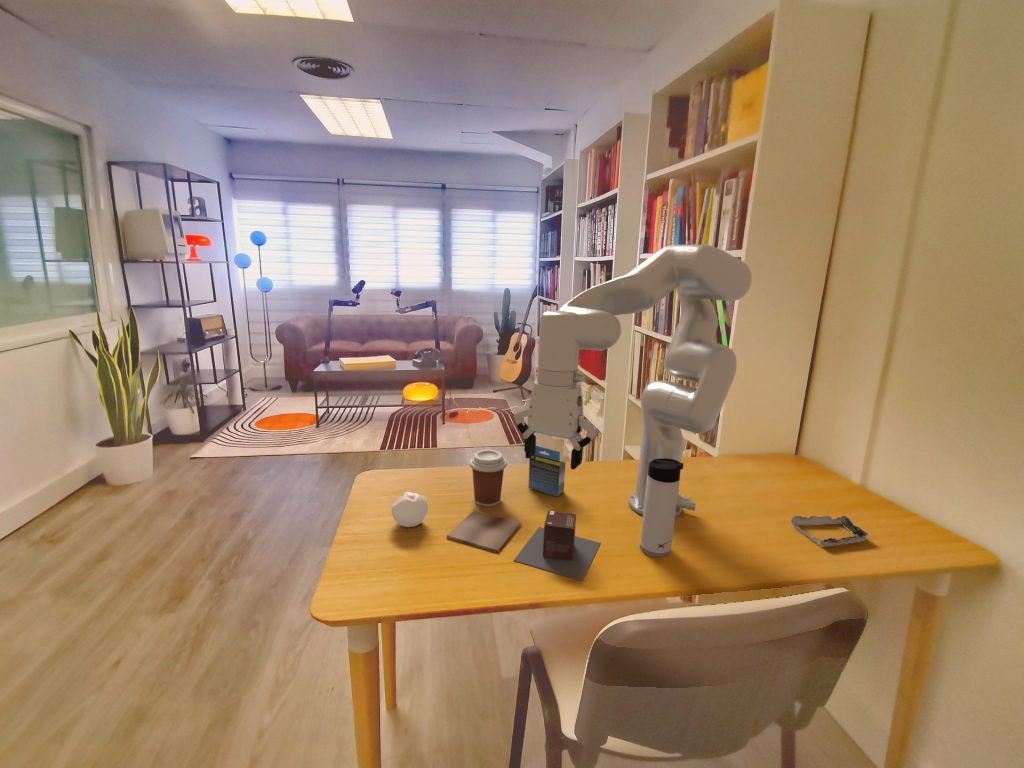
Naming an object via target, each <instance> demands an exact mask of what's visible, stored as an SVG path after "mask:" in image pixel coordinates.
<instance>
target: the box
mask: <svg viewBox="0 0 1024 768" xmlns="http://www.w3.org/2000/svg"><path fill="white" fill-rule="evenodd" d="M576 521H577V514H576V513H572V512H571V513H570V512H560V511H555V510H554V511H552V510H548V511H547V512H546V516H545V521H544V524H543V525H544V526H543V528H544V540H543V557H548V558H556V559H563V560H572V558H573V551H574V541H575V536H576V523H577V522H576Z"/></svg>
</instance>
